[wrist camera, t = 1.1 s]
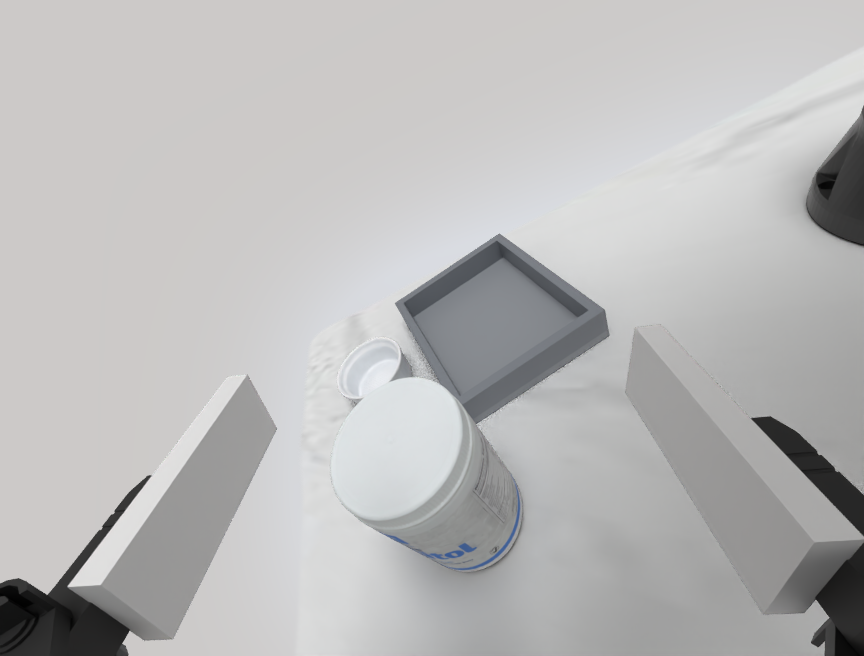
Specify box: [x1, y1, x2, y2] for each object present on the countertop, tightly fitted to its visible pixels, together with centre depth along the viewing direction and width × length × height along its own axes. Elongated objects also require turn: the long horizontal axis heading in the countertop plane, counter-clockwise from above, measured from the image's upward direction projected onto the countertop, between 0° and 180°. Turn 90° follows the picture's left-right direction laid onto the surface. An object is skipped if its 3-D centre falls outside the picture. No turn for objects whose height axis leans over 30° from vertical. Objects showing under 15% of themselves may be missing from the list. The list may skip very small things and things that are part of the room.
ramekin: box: [337, 337, 412, 404], centre depth 45 cm, size 9×9×4 cm
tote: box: [395, 234, 609, 424], centre depth 44 cm, size 17×20×4 cm
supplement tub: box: [330, 377, 522, 572], centre depth 28 cm, size 10×10×15 cm
